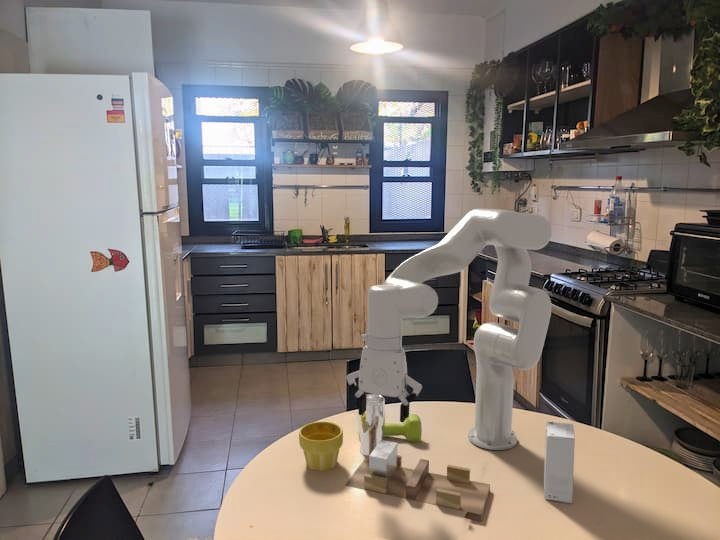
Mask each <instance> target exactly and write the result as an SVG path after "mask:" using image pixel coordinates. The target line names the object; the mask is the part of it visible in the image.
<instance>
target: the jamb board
mask: <svg viewBox="0 0 720 540" xmlns="http://www.w3.org/2000/svg"><path fill="white" fill-rule="evenodd" d="M402 461H403V460H402V455H400V454H399V455H398V454H397V472H396V474H395V475H394V477H393V478H392V480H391V482H390V483H389V485H388V487H387V478H384V477H379V476H374V475H369V460H366V459H363V461H362V462H361V463H360V464H359V466H358V467H357V469H356V470H355V471H354V472H353V474H352V475H351V476H350V478H349V479H348V480H347V481H346V482H345V484H344V486H347V487H351V488H354V489H360V490H364V491H369V492H374V493H379V494H384V495H388V496H392V497H398V498H401V499H406V500H410V501H415V502H420V503H425V504H430V505H434V506H439V507H444V508H449V509H452V510H458V511H463V512H465V514H464V519H469V520H472V521H473V520H474V521H478V522H482V520H483V516H484V512H485V509H486V506H487V503H488V500H489V498H488V497H489V495H490V492H491V491H490V490H491V484H490V483H484V482H479V481H474V480H471V476H470V475H471V468H468V467H464V466H463V467H462V466H457V465H453V464H452V465H451V464H447V465H446V475H443V474H437V473H434V472H429V471H430V470H429V469H430V461H429V460H428V459H423V458H420V459H419V460H418V463H417V464H416V466H415V468H414V469H412V468H408V467H402Z"/></svg>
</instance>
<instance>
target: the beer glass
mask: <svg viewBox="0 0 720 540" xmlns="http://www.w3.org/2000/svg"><path fill="white" fill-rule="evenodd" d="M366 395H367V398H366V411H365V412H364V413H363V414H362V415H359V409H357V408H356V409H357V411H356V419H357V427H358V428H357V429H358V435H359V434H360V439H359V442H360V445H359V453H360V454H361V455H363V456H366V457H369V455H370V454H371V453H372V451H373V450H374V449H375V447H376V446H377V445H378V443H379V442H380V441H381V440H383V431H384V426H385V423H386V404H385V403H386V399H385V397H384V396H383V395H377V394H371V393H366Z"/></svg>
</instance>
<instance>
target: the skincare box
mask: <svg viewBox="0 0 720 540" xmlns="http://www.w3.org/2000/svg"><path fill="white" fill-rule="evenodd" d="M575 440H576V435H575V429H574V424H572V423H564V422H555V421H554V422H553V421H546V430H545V445H544V447H545V449H544V464H543V465H544V466H543V467H544V469H543V470H544V471H543V491H544V499H545V500H548V501H549V500H550V501H556V502H558V503H559V502H560V503H566V504H569V505H570V504H573V497H574V496H573V493H574V469H575V465H574V463H575V462H574V461H575V444H576V441H575Z"/></svg>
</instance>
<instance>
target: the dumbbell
mask: <svg viewBox="0 0 720 540" xmlns="http://www.w3.org/2000/svg"><path fill="white" fill-rule="evenodd" d="M422 431H423V429H422V421H421V417H420V416H419V414H417V413H415V414H413V413H411V414H409V417H408V418H406V419H405V421H404V422H402V423H394V422H393V423H388V422H387V423H386V422H385V426H384V431H383V436H386V437H389V436H391V437H397V436H403V437H405V439H406V440H407V441H408V442H411V443H420V442H421V441H422V435H423V434H422ZM383 436H382V437H383ZM358 438H359V440H360V434H359V433H358Z"/></svg>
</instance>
